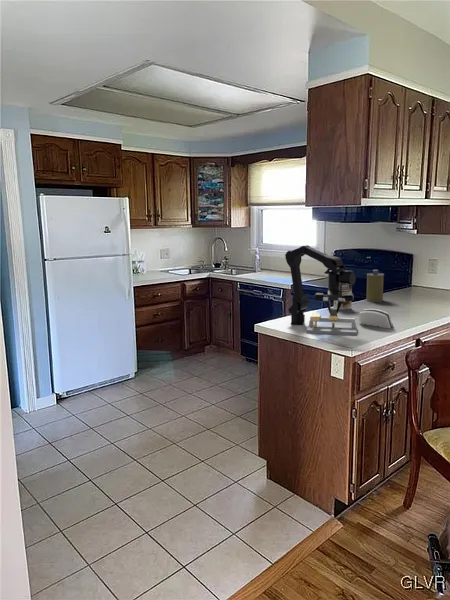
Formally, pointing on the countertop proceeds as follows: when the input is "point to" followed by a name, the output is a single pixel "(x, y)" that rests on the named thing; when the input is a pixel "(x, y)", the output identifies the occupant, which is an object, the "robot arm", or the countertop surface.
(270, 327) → the countertop surface
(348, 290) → the coffee box
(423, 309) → the countertop surface
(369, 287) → the canister
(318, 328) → the plate
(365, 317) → the white curved block
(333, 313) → the block
